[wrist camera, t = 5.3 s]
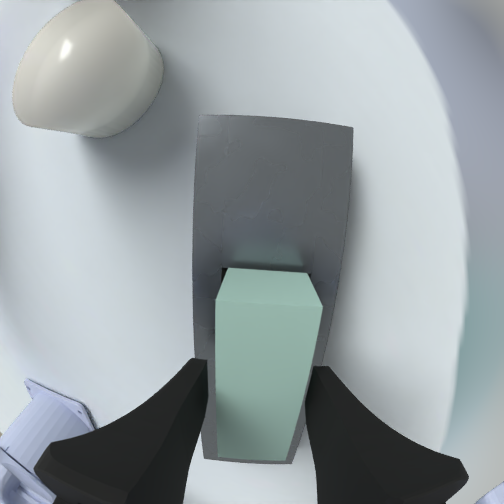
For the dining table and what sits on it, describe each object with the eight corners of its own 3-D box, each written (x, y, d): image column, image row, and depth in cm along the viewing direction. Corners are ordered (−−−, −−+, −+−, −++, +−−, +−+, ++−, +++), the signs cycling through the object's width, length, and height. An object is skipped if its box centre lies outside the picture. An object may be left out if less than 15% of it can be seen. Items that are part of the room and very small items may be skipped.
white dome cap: (156, 132, 12) (104, 112, 7) (63, 144, 12) (3, 139, 7) (171, 29, 11) (139, -20, 6) (80, 51, 11) (32, 24, 6)
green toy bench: (280, 381, 15) (285, 460, 9) (230, 378, 15) (217, 456, 9) (297, 253, 13) (322, 306, 7) (235, 249, 13) (215, 299, 8)
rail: (289, 438, 17) (291, 464, 14) (209, 433, 17) (203, 458, 14) (337, 137, 12) (353, 127, 9) (210, 127, 12) (199, 115, 9)
